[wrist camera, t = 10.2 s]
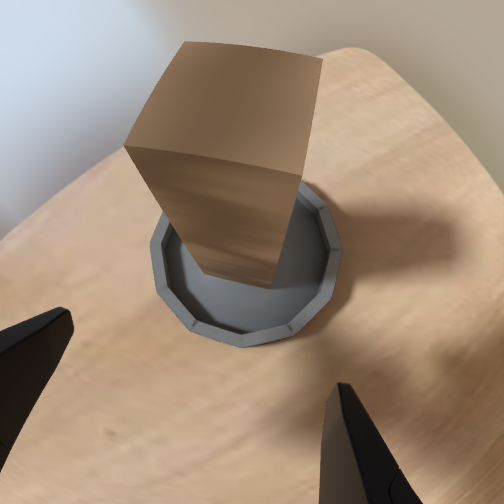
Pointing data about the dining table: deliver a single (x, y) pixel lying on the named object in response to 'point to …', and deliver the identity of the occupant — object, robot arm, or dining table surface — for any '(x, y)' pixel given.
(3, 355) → the robot arm
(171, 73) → the walnut post
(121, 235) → the dining table surface
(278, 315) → the dish
